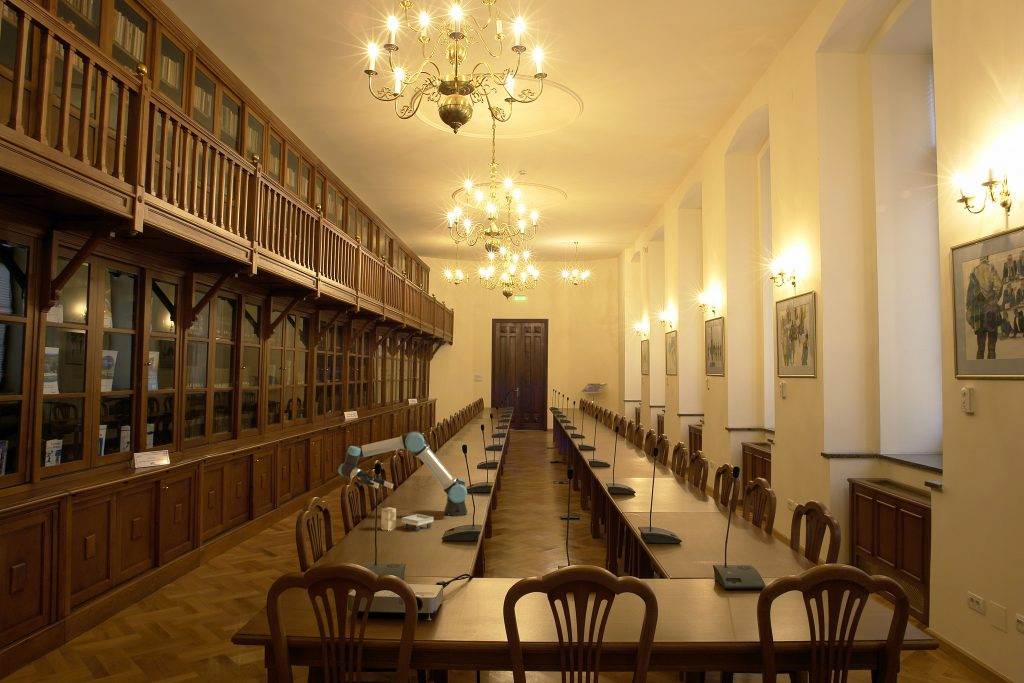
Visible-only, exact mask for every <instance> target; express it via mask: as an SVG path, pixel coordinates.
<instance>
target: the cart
mask: <svg viewBox="0 0 1024 683" xmlns="http://www.w3.org/2000/svg"><path fill="white" fill-rule="evenodd" d="M433 522H434V516H430V515H425V514H419V513H416V514H411V515H407V516H404V517H403V516H402V517H401V523H403V529H408V528H409V525H414V526H415V528H414V529H415V531H417V532H419V531H420V530H421V526H422V525H425V524H426V527H427V528H429V529H430V528H431V527H432V523H433Z"/></svg>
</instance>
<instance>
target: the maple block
mask: <svg viewBox="0 0 1024 683" xmlns="http://www.w3.org/2000/svg"><path fill="white" fill-rule="evenodd" d="M380 511H381V519H380V520H381V523H380V524H381V525H380V526H381V527H380V530H381V529H382V531H386V530H388V531H387V532H390V531H394V530H396V529H397V509H396V508H394V507H389V506H388V507H384V508H381V510H380ZM393 529H394V530H393ZM389 530H390V531H389Z"/></svg>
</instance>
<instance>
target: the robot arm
mask: <svg viewBox="0 0 1024 683" xmlns="http://www.w3.org/2000/svg"><path fill="white" fill-rule="evenodd" d="M400 449H401V450H402V449H403V450H408V451H409V452H411V454H412V455H413V456H414V457H415V458H419V459H420V460H421V461H422V463H423V464H424V465H425V467H426V468H428V470H429V471H430V472H431V474H433V476H434V477H435V478H436V479H437V480H438V482H439V483H440V484H441V486H442V490H443V491H444V493H445V494H446V504H445V508H444V511H443V514H444V513H445V514H449V515H462V516H465V515H464V514H466V515H467V514H468V508H467V505H466V499H467V495H468V490H467V488H466V480H465V478H459V477H457V476H453V475H452V473H451V472H450V470H448V468H446V466H445V465H444V463H443V462H441V460H440V459H439V458H438V457H437V455H436V454H435V453H434V452H433V451H432V449H431V448H430V443H429V442H428V441H427V440H426V438H424V435H423V434H422V433H421V432H420V431H416V430H413V431H410V432H407V433H404V434H401V435H400V436H398V437H394V438H389V439H385V440H381V441H376V442H371V443H367V444H363V445H359V446H355V445H350V446H349V447H348V448H347V452H346V456H345V461H344V463H341V464H340V465H339V467H338V468H337V469H338V470H337V471H338V474H339V475H341V476H342V477H343V478H346V479H349V480H351V479H350V478H351V477H352V476H358V477H359V478H358V479H357V480H356V481H355V482H357V483H359V484H363V485H365V486H366V487H369V486H370V487H373V488H375V489H379V485H382V486H384V487H386V488H389V489H391V490H392V489H393V487H394V483H391V482H389V481H388V480H387V479H382V478H378V477H375V476H371V475H369V474H368V472H367V471H366V470H362V469H360V468H358V467H357V464H358V461H359V459H361V458H365V457H371V456H374V455H379V454H384V453H388V452H391V451H396V450H400ZM445 514H444V515H445Z"/></svg>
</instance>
